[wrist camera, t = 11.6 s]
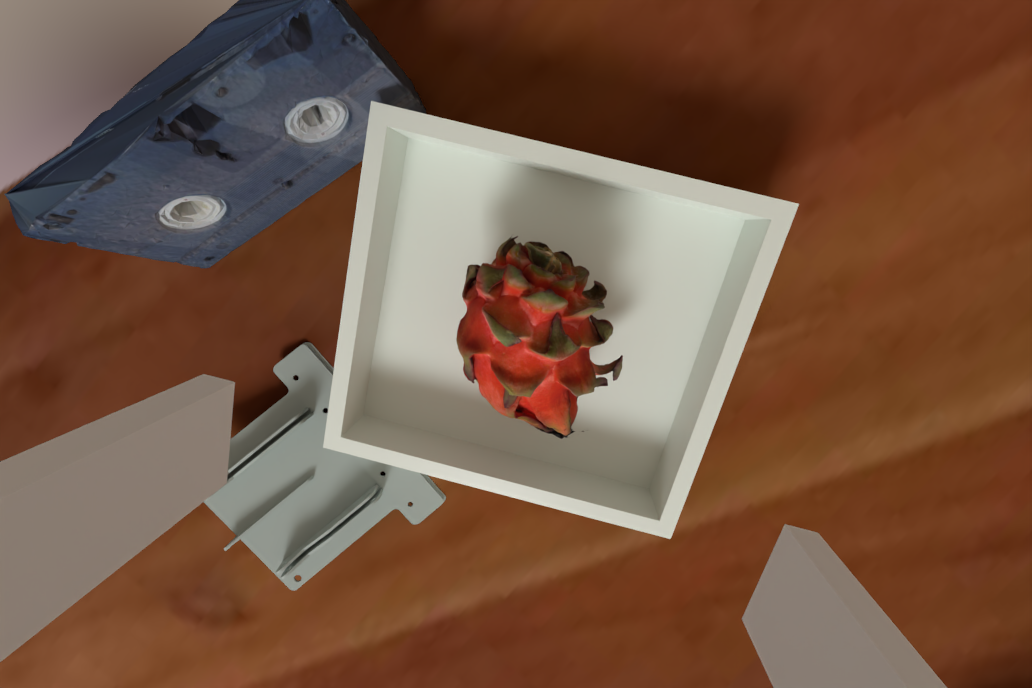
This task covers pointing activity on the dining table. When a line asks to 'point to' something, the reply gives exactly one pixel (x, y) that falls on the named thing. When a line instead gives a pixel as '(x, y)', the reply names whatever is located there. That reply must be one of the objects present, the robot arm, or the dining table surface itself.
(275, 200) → the vhs cassette tape
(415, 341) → the tray
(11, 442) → the dining table surface
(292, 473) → the metal bracket
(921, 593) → the dining table surface
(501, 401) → the dragon fruit
